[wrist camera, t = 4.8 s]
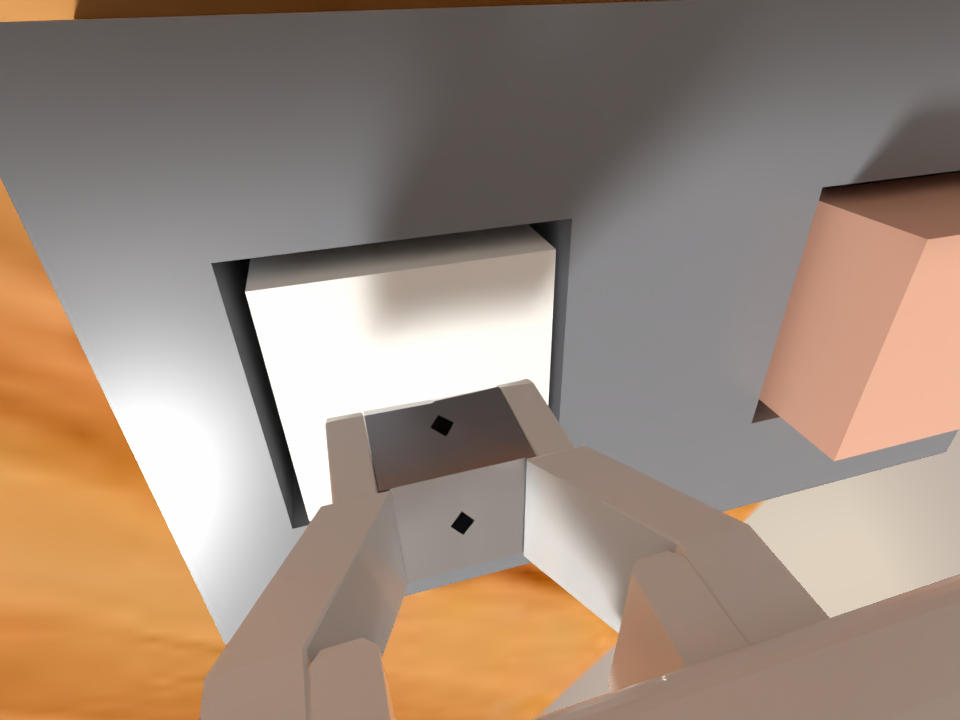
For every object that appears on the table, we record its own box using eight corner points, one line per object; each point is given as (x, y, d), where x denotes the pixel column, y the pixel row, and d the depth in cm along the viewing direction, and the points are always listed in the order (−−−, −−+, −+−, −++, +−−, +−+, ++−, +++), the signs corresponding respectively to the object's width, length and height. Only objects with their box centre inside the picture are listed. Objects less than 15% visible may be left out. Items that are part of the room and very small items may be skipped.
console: (72, 19, 10) (-73, 25, 6) (956, -9, 15) (1209, -17, 11) (241, 489, 17) (225, 643, 13) (820, 367, 21) (945, 451, 17)
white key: (255, 228, 11) (244, 291, 8) (501, 200, 12) (556, 249, 9) (305, 429, 13) (309, 521, 11) (502, 391, 15) (545, 467, 12)
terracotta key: (795, 192, 12) (927, 239, 9) (976, 169, 13) (1136, 206, 10) (742, 385, 14) (833, 461, 12) (895, 353, 16) (1007, 416, 13)
